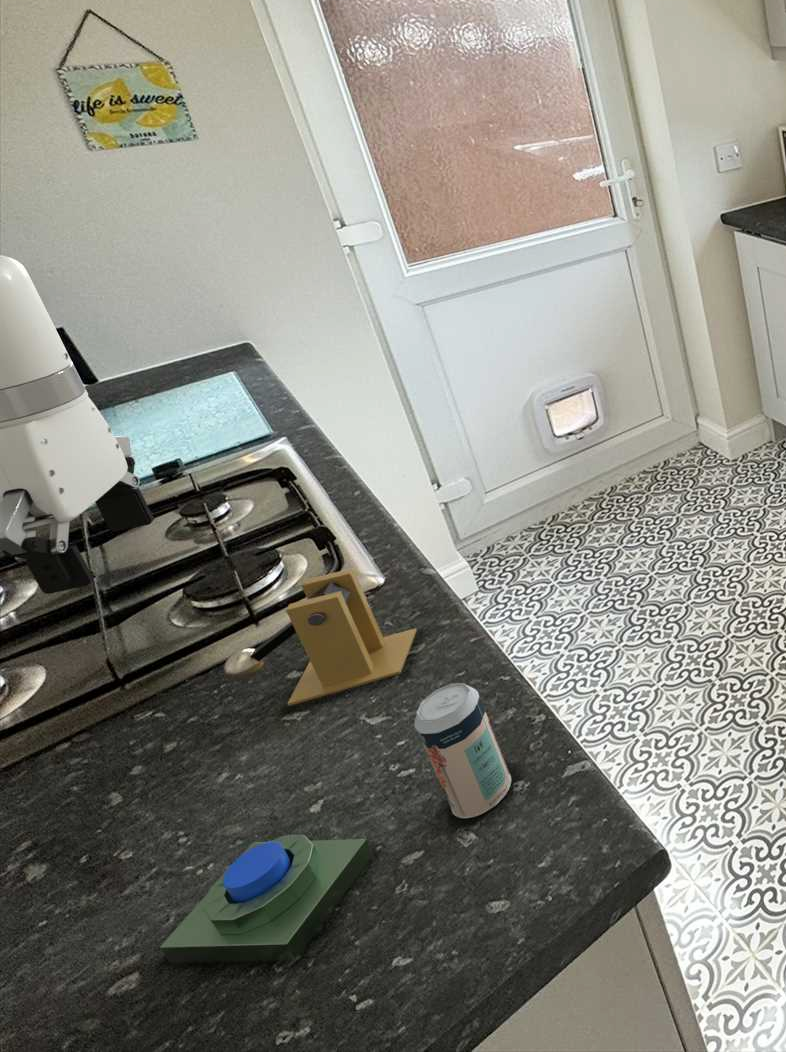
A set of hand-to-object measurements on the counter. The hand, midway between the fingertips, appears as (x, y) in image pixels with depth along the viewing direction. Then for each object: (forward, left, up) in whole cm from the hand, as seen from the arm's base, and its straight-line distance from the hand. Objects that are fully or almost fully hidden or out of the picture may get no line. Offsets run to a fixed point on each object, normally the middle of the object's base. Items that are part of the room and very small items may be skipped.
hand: (103, 555), depth 74 cm
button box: (+16, -27, -21) cm, 38 cm away
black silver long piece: (+11, 0, -15) cm, 19 cm away
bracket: (+14, 0, -21) cm, 26 cm away
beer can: (+30, -23, -22) cm, 44 cm away
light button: (+16, -27, -18) cm, 36 cm away
